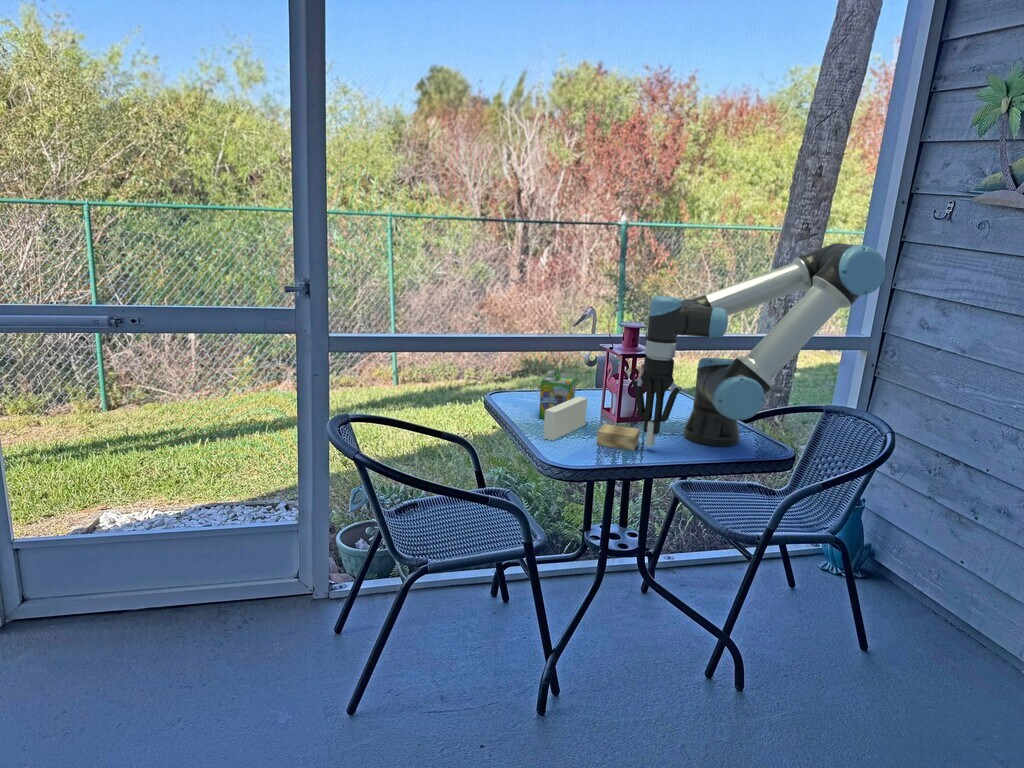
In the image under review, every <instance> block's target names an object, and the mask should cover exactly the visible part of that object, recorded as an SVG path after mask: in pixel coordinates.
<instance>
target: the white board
mask: <svg viewBox="0 0 1024 768" xmlns="http://www.w3.org/2000/svg"><path fill="white" fill-rule="evenodd" d="M587 407H588V398H587V397H585V396H575V398H573V399H571V400H568V401H566V402H564V403H561V404H559V405H556V406H554V407H552V408H549V409H547V410H545V419H543V420H544V423H543V435H542V439H543V440H546V439H548V440H547V441H551V440H552V442H554V441H556V440H558V439H560V438H562V437H563V436H566V435H568V434H569V433H572V432H574V431H576V430H577V429H580V428H582V427H584V426H585V425H586V419H587ZM565 434H566V435H565ZM561 436H562V437H561ZM559 437H560V438H559ZM557 438H558V439H557ZM555 439H556V440H555ZM553 440H554V441H553Z"/></svg>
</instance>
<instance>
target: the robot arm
mask: <svg viewBox="0 0 1024 768" xmlns="http://www.w3.org/2000/svg"><path fill="white" fill-rule="evenodd" d="M885 277H886V262H885V260H884V257H883V255H882V254H881V253H880V252H879V251H878V250H876V249H875V248H873V247H870V246H867V245H864V244H849V243H842V242H841V243H840V242H839V243H833V244H829V245H826V246H822V247H820V248H818V249H816V250H812V251H810V252H807V253H805V254H802V255H800V256H798V257H795V258H794V259H793V260H792V262H791V263H789V264H786V265H784V266H780V267H778V268H775V269H772V270H770V271H767V272H764V273H762V274H759V275H755V276H754V277H751V278H747V279H745V280H742V281H739V282H736V283H733V284H731V285H728V286H725V287H722V288H720V289H717V290H715V291H711V292H709V293H707V294H704V295H700V296H698V297H695V298H684V299H681V298H680V297H675V296H667V295H658V296H657V295H656V296H653V298H651V300H650V305H649V306H650V307H649V312H648V322H647V323H648V325H647V333H646V342H645V351H644V354H645V355H646V356H645V357H644V358H643V359H644V361H643V368H642V369H643V370H642V374H641V375H640V377H639V378H635V379H634V380H632V381H631V385H632V387H633V389H634V393H635V401H636V402H635V403H636V410H637V416H638V417H639V418H642V419H643V420H644V424H643V432H644V433H646V437H645V444H644V445H645V446H646V447H650V448H651V447H653V446H654V445H655V442H656V435H658V434H659V433H660V428H661V423H664V422H666V421H667V420H669V418H670V415H671V412H672V411H673V406H674V404H675V401H676V399H677V397H678V395H679V393H680V392H682V387H681V386H680V385H679V386H678V384H676V383H675V380H674V377H673V375H674V374H673V373H674V368H675V367H674V365H675V360H674V358H675V355H676V347H677V339H678V336H681V337H682V336H684V337H685V336H687V337H704V338H709V339H711V338H722V337H723V336H724V335H725V334H726V333H727V330H728V324H729V316H732V315H734V314H737V313H740V312H742V311H745V310H746V311H747V310H748V309H752V308H754V307H757V306H759V305H762V304H765V303H768V302H770V301H773V300H776V299H778V298H779V299H781V297H785V296H787V295H790V294H793V293H797V292H799V291H803V292H805V293H804V295H803V296H801V298H800V299H798V301H797V302H796V303H795V304H794V305H793V307H791V308H790V310H788V312H786V313H785V315H784V316H783V317H782V318H781V319H779V321H778V322H777V323H776V324H775V325H774V327H773V328H772V329H771V330H770V331H768V333H766V335H764V336H763V338H762V339H761V340H760V341H759V342H758V343H757V344H756V346H754V347H753V348H752V349H751V350H750V352H749V353H747V355H746V356H738V357H736V358H735V359H732V358H724V357H723V358H721V357H702V358H700V359H699V361H698V364H697V365H698V366H697V367H696V379H695V387H694V399H693V407H692V411H691V413H690V414H689V417H688V419H687V421H686V423H685V426H684V429H683V437H684V438H686V440H689V441H691V442H694V443H697V444H700V445H704V444H705V445H706V446H711V445H712V447H731V446H730V445H733V446H735V444H736V445H738V444H739V443H738V442H740V430H739V425H738V421H745V420H748V419H751V418H753V417H754V416H756V414H758V413H759V412H760V410H761V409H762V408H763V406H764V404H765V395H767V393H768V392H770V390H771V389H772V388H773V378H774V377H775V376H776V375H777V374H778V373H779V372H780V371H781V370H782V369H783V368H784V367H785V366H786V365H787V364H788V363H789V362H790V361H791V359H792V358H793V357H794V356H796V354H797V353H798V352H799V351H800V350H801V349H803V347H804V346H805V345H806V344H807V343H808V342H809V341H810V340H811V338H812V337H813V336H815V335H816V333H818V331H819V330H820V329H821V328H822V327H823V326H824V325H826V324H827V322H828V321H829V320H830V319H831V318H832V317H833V316H834V315H835V314H836V313H837V312H838V310H840V309H843V308H844V309H845V308H850V307H851V306H852V305H853V304H854V303H855V302H856V301H857V300H858V299H859V298H860V297H861V296H866V295H869V294H872V293H874V292H875V291H876V290H877V289H879V288H880V287H881V285H882V284H883V282H884V279H885ZM643 386H644V387H645V389H646V394H645V395H646V400H645V396H644V391H643ZM668 389H669V390H670V394H669V396H668V399H667V401H666V404H665V405H664V400H665V398H664V397H665V394H666V392H667V390H668ZM654 402H655V404H654ZM654 405H655V406H654ZM663 407H664V410H663ZM653 410H654V415H653ZM737 443H738V444H737Z"/></svg>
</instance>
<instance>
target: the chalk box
mask: <svg viewBox="0 0 1024 768" xmlns="http://www.w3.org/2000/svg"><path fill="white" fill-rule="evenodd" d="M559 368H560V367H559V366H557V367H556V368H554V374H555V376H553V375H547V376H545V377H544V378H542V380H541V381H540V395H539V397H540V398H539V414H538V415H539V417H538V419H540V420H541V419H543V420H545V410H547V409H549V408H552V407H554V406H556V405H559V404H561V403H564V402H566V401H568V400H571V399H573V398H576V385H577V384H576V383H577V379H576V378H572V377H571V378H570V377H564V376H561V375H560V374H561V373H560V369H559Z"/></svg>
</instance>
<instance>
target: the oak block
mask: <svg viewBox="0 0 1024 768" xmlns="http://www.w3.org/2000/svg"><path fill="white" fill-rule="evenodd" d="M640 430H641V429H640V428H635V427H627V426H626V427H625V426H621V425H619V426H618V425H613V424H606V423H603V425H601V426H600V428H599V429H598V431H597V435H596V436H597V437H596V446H603V447H608V448H615V449H616V448H617V449H623V450H628V451H635V449H636V447H637V445H638V444H639V441H640V440H639V439H640V432H641V431H640Z"/></svg>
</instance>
